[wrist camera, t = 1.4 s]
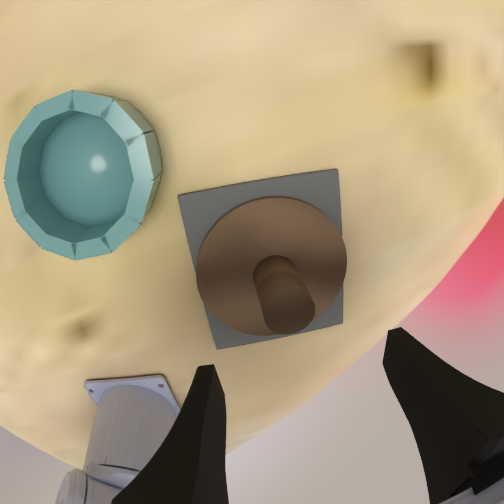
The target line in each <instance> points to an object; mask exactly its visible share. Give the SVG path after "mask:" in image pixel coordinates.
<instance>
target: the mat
mask: <svg viewBox="0 0 504 504" xmlns="http://www.w3.org/2000/svg"><path fill="white" fill-rule="evenodd" d="M268 196H285V197H291V198H296V199H299V200H302V201H305V202H307V203H309V204H311V205H313V206H314V207H316V208H317V209H319V210H320V211H321V212H322V213H323V214H324V215H326V216H327V217H328V218H329V219H330V220H331V221H332V222H333V224H334V225H335V226H336V227H337V229H338V231H339V233H340V234H341V236H342V223H341V203H340V187H339V174H338V169H329V170H322V171H314V172H307V173H300V174H293V175H287V176H280V177H274V178H267V179H261V180H255V181H249V182H244V183H238V184H232V185H227V186H221V187H216V188H211V189H206V190H200V191H195V192H190V193H185V194H181V195H178V201H179V205H180V210H181V214H182V218H183V223H184V227H185V231H186V235H187V239H188V244H189V248H190V252H191V256H192V260H193V264H194V268H195V272H196V268H197V259H198V254H199V250H200V247H201V245H202V242H203V240H204V238H205V236H206V235H207V233H208V231H209V230H210V229H211V227H212V226H213V225H214V224H215V222H216V221H217V220H218V219H220V218H221V217H222V216H223V215H224V214H225V213H227V212H228V211H230V210H231V209H232V208H234V207H236V206H238V205H240V204H242V203H244V202H247V201H249V200H252V199H256V198H261V197H268ZM204 306H205V304H204ZM205 309H206V313H207V317H208V320H209V324H210V327H211V331H212V334H213V338H214V341H215V345H216V348H217V350H218V349H224V348H229V347H235V346H241V345H246V344H251V343H256V342H262V341H267V340H272V339H276V338H281V337H286V336H291V335H295V334H300V333H304V332H309V331H313V330H317V329H321V328H326V327H330V326H334V325H338V324H342V323H343V284H342V287H341V289H340V291H339V293H338V295H337V296H336V298H335V299H334V301H333V302H332V303H331V305H330V306H329V307H328V308H327V309H326V310H325V311H324V312H323V313H322V314H321V315H320V316H319V317H317V318H316V319H315V320H313V321H312V322H311V323H310V324H309V325H308V326H307V327H306V328H304V329H303V330H301V331H299V332H297V333H293V334H287V335H284V334H279V335H272V336H258V335H250V334H245V333H242V332H239V331H236V330H234V329H232V328H230V327H228V326H226V325H224V324H223V323H221V322H220V321H219V320H218V319H216V318H215V317H214V316H213V315H212V314H211V313H210V311H209V310H208V309H207V307H206V306H205Z"/></svg>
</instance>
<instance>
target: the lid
mask: <svg viewBox="0 0 504 504" xmlns="http://www.w3.org/2000/svg"><path fill="white" fill-rule="evenodd" d="M346 266H347V256H346V249H345V245H344V242H343V239H342V236H341V234H340V233H339V231H338V229H337V227H336V226H335V225H334V224H333V222H332V221H331V220H330V219H329V218H328V217H327V216H326V215H324V214H323V213H322V212H321V211H320V210H319V209H317V208H316V207H314V206H313V205H311V204H309V203H307V202H305V201H302V200H299V199H296V198H291V197H285V196H268V197H261V198H256V199H252V200H249V201H247V202H244V203H242V204H240V205H238V206H236V207H234V208H232V209H231V210H230V211H228V212H227V213H225V214H224V215H223V216H222V217H221V218H220V219H218V220H217V221H216V222H215V224H214V225H213V226H212V227H211V229H210V230H209V231H208V233H207V235H206V236H205V238H204V240H203V242H202V245H201V247H200V250H199V254H198V259H197V268H196V277H197V285H198V290H199V293H200V296H201V298H202V300H203V302H204V304H205V306H206V307H207V309H208V310H209V311H210V313H211V314H212V315H213V316H214V317H215V318H216V319H218V320H219V321H220V322H221V323H223V324H224V325H226V326H228V327H230V328H232V329H234V330H236V331H239V332H242V333H245V334H250V335H258V336H272V335H279V334H284V335H287V334H293V333H297V332H299V331H301V330H303V329H304V328H306V327H307V326H308V325H309V324H310V323H311V322H312V321H313V320H315V319H316V318H317V317H319V316H320V315H321V314H322V313H323V312H324V311H325V310H326V309H327V308H328V307H329V306H330V305H331V303H332V302H333V301H334V299H335V298H336V296H337V295H338V293H339V291H340V289H341V287H342V284H343V281H344V278H345V273H346Z"/></svg>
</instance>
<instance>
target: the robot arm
mask: <svg viewBox="0 0 504 504" xmlns="http://www.w3.org/2000/svg"><path fill="white" fill-rule="evenodd" d="M383 366H384V369H385V372H386V375H387V377H388V380H389V383H390V385H391V387H392V389H393V391H394V393H395V395H396V397H397V399H398V401H399V403H400V405H401V407H402V409H403V411H404V413H405V415H406V417H407V419H408V421H409V424H410V426H411V428H412V431H413V434H414V437H415V440H416V443H417V446H418V449H419V453H420V456H421V460H422V463H423V467H424V472H425V476H426V481H427V487H428V493H429V499H430V504H504V393H503V392H500V391H498V390H495V389H493V388H490V387H488V386H486V385H484V384H482V383H479V382H477V381H475V380H474V379H472V378H470V377H468V376H467V375H465V374H463V373H461V372H460V371H458V370H456V369H455V368H454V367H452V366H451V365H449V364H447V363H446V362H444V361H443V360H442V359H440V358H439V357H438V356H437V355H435V354H434V353H433V352H431V351H430V350H429V349H427V348H426V347H425V346H424V345H422V344H421V343H420V342H419V341H417V340H416V339H415V338H414V337H413V336H411V335H410V334H409V333H408V332H406V331H405V330H404V329H403V328H401V327H399V328H396V329H392V330H388V335H387V341H386V346H385V352H384V357H383ZM162 384H163V385H162ZM84 387H85V389H86V390H87V392H88V393H89V395H90V396H91V398H92V399H93V401H94V402H95V403H96V405H97V406H98V409H97V412H96V416H95V420H94V424H93V428H92V432H91V436H90V441H89V445H88V449H87V454H86V458H85V463H84V468H83V470H80V469H77V468H76V469H74V470H73V471H70V472H68V473H67V474H66V475H65V477H64V479H63V481H62V483H61V486H60V489H59V492H58V495H57V499H56V503H55V504H229V502H228V493H227V484H226V472H225V449H226V405H225V394H224V391H223V389H222V386H221V383H220V380H219V378H218V375H217V372H216V369H215V366H214V364H212V365H204V366H199V367H198V368H197V370H196V373H195V376H194V379H193V382H192V384H191V387H190V389H189V392H188V394H187V397H186V399H185V401H184V403H183V406H182V408H181V409H180V407H179V405H178V403H177V402H176V400H175V397H174V395H173V393H172V391H171V389H170V387H169V385H168V383H167V381H166V379H165V377H163V376H161V375H154V376H144V377H134V378H123V379H110V380H94V381H85V383H84Z"/></svg>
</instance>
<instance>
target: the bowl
mask: <svg viewBox="0 0 504 504" xmlns="http://www.w3.org/2000/svg"><path fill="white" fill-rule="evenodd" d="M11 139H12V140H10V144H9V149H8V155H7V161H6V167H5V174H4V180H6V181H4V184H5V188H6V191H7V195H8V198H9V202H10V205H11V209H12V212H13V215H14V218H17V219H16V221H17V223H18V224H19V225H20V226H21V227H22V228H23V229H24V230H25V232H26V233H27V234H28V235H29V236H30V237H31V238H32V239H33V240H34V242H35V243H36V244H37V245H38V246H39V247H41V246H42V249H44V250H47V251H50V252H53V253H55V254H58V255H61V256H64V257H67V258H70V259H73V260H75V259H76V260H81V259H85V258H90V257H94V256H99V255H104V254H108V253H112V252H113V251H114V250H115V249H116V248H117V247H118V246H119V245H120V244H121V243H122V242H123V241H124V240H125V239H126V238H128V237H129V236H130V235H131V234H132V233H133V232H134V231H135V230H136V229H137V228H138V227H139V226H140V225H141V223H142V222H143V220H144V218H145V217H146V215H147V213H148V212H149V210H150V209H151V206H152V202H153V199H154V197H155V194H156V192H157V189H158V186H159V182H160V178H161V173H162V171H161V170H162V159H161V151H160V147H159V143H158V139H157V137H156V135H155V132H154V130H153V128H152V127H151V125H150V123H149V122H148V121H147V119H146V118H145V117H144V116H143V115H142V114H141V113H140V112H139V111H138V110H137V109H136V108H134V107H133V106H132V105H131V104H130V103H129V102H127V101H125V100H121V99H117V98H114V97H109V96H105V95H101V94H96V93H92V92H85V91H78V90H71V91H68V92H66V93H63V94H61V95H58V96H56V97H53V98H51V99H49V100H46V101H44V102H42V103H39V104H37V105H36V106H34V107H33V109H32V110H31V111H30V113H29V114H28V115H27V117H26V118H25V119H24V121H23V122H22V123H21V125H20V126H19V127H18V129H17V130H16V132H15V133H14V135H13V136H12V138H11Z"/></svg>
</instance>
